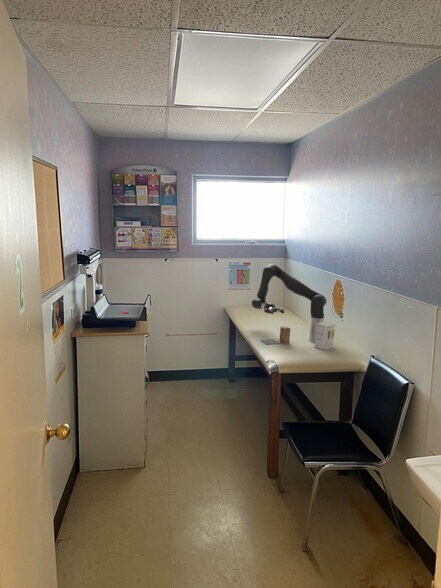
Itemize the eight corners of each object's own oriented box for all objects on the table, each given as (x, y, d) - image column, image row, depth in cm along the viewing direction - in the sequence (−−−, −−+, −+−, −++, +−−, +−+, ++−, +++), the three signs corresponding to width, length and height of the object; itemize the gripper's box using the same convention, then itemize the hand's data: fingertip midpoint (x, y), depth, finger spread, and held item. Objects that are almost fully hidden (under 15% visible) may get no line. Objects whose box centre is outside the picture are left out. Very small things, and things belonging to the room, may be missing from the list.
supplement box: (326, 350, 292) (328, 325, 289) (314, 347, 299) (316, 323, 296) (333, 347, 299) (335, 323, 296) (321, 344, 305) (323, 321, 303)
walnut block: (279, 342, 308) (280, 326, 306) (285, 341, 310) (286, 326, 308) (282, 343, 303) (283, 328, 301) (289, 343, 305) (290, 328, 303)
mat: (260, 340, 309) (260, 339, 309) (272, 339, 312) (272, 339, 312) (266, 344, 300) (266, 343, 300) (279, 343, 303) (279, 342, 303)
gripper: (259, 303, 325) (270, 307, 310) (276, 302, 330) (287, 306, 315) (259, 312, 326) (269, 317, 311) (276, 312, 331) (286, 317, 317)
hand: (278, 312), depth 313 cm, fingers open, 8 cm apart
